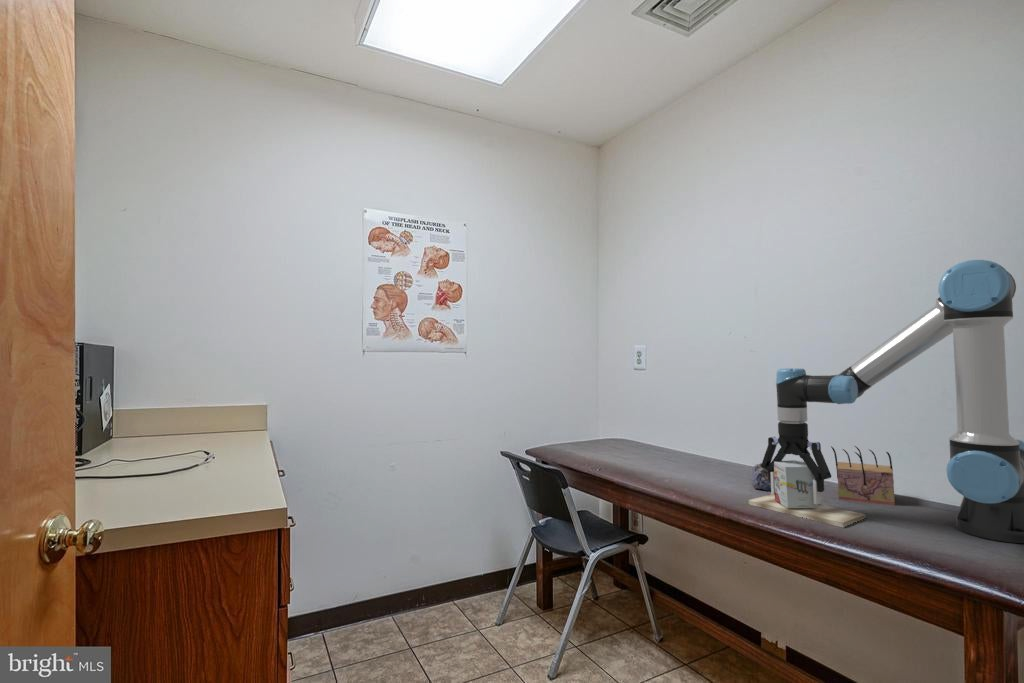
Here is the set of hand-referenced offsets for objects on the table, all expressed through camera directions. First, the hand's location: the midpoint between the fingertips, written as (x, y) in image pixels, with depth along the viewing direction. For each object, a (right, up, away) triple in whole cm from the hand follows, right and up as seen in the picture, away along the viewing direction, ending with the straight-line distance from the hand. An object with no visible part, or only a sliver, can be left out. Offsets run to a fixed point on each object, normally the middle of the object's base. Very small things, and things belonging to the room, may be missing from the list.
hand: (795, 498), depth 145 cm
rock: (+4, -4, +24) cm, 25 cm away
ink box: (0, -2, 0) cm, 2 cm away
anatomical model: (+27, -3, +10) cm, 29 cm away
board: (+1, -3, -2) cm, 4 cm away
